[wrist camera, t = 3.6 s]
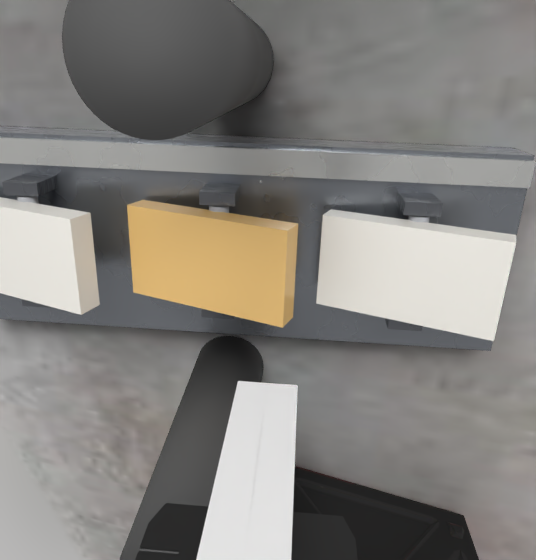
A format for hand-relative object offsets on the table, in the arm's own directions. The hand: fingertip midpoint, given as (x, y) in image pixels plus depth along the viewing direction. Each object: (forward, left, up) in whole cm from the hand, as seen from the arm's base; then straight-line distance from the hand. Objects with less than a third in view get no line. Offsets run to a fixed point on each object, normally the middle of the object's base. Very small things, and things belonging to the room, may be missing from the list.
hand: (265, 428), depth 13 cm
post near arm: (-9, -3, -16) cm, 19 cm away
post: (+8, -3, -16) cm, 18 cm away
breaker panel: (0, -3, -16) cm, 16 cm away
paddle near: (0, +6, -12) cm, 13 cm away
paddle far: (0, -12, -12) cm, 17 cm away
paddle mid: (0, -3, -12) cm, 12 cm away
